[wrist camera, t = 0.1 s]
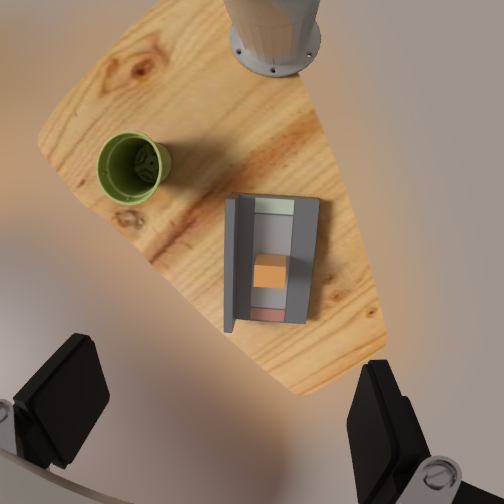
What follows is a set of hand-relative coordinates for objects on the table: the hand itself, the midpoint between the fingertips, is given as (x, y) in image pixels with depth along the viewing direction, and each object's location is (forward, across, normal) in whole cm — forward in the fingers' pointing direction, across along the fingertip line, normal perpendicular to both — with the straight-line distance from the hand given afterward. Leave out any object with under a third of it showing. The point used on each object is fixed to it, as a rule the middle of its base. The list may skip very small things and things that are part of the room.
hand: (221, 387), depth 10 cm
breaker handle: (+34, -1, +8) cm, 35 cm away
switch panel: (+37, -1, +8) cm, 38 cm away
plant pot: (+37, +17, -6) cm, 41 cm away
